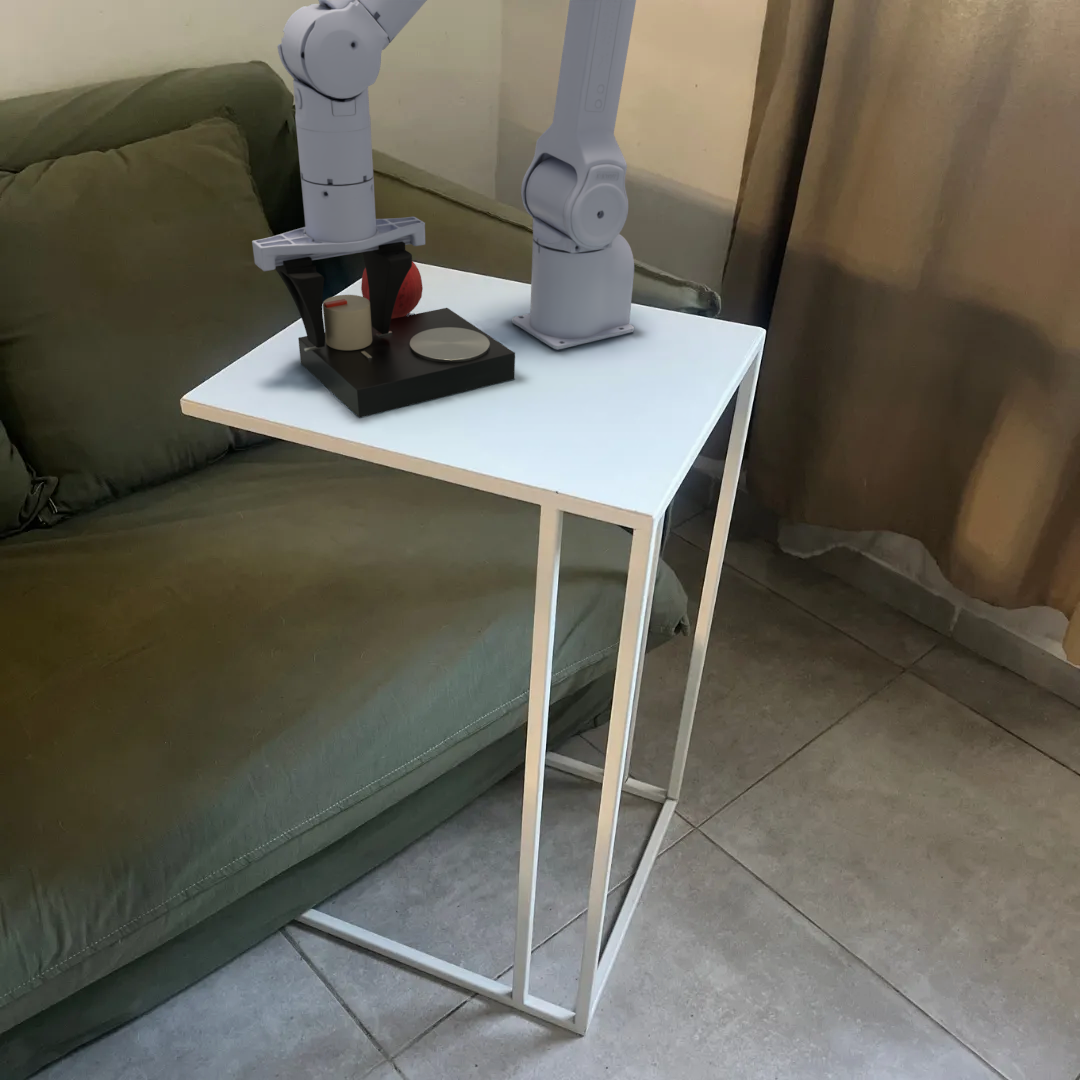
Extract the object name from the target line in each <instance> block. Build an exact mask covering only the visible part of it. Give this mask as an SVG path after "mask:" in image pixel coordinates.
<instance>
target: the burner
mask: <svg viewBox="0 0 1080 1080" xmlns="http://www.w3.org/2000/svg"><path fill="white" fill-rule="evenodd" d="M410 349H411V351H412V352H413V353H414V354H415V355H417V356H419V357H421V358H424V359H427V360H431V361H436V362H446V363H455V362H465V361H470V360H474V359H477V358H479V357H481V356H483V355H485V354H486V353H487V352H488V351H489V349H490V342H489V340H488V338H487V337H485V336H484V335H482V334H481V333H478V332H476V331H473V330H469V329H463V328H453V327H445V328H435V329H430V330H426V331H423V332H420V333H418V334H416V335H415V336H413V337H412V338H411V340H410Z"/></svg>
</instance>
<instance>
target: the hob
mask: <svg viewBox="0 0 1080 1080" xmlns="http://www.w3.org/2000/svg"><path fill="white" fill-rule="evenodd" d="M371 326H372V324H371ZM445 327H453V328H463V329H469V330H473V331H476V332H478V333H481V334H482V335H484V336H485V337H487V338H488V340H489V342H490V349H489V351H488V352H487V353H486V354H485V355H483V356H481V357H479V358H477V359H474V360H470V361H465V362H455V363H446V362H436V361H431V360H427V359H424V358H421V357H419V356H417V355H415V354H414V353H413V352H412V351H411V349H410V340H411V338H412V337H413V336H415V335H416V334H418V333H420V332H423V331H426V330H430V329H435V328H445ZM297 338H298V348H299V357H300V365H301V366H303V367H304V368H305V369H306V370H307V371H308V372H309V373H310V374H311V375H312V376H313V377H315V378H316V379H317V380H318V381H319V382H320V383H321V384H322V385H323V386H324V387H326V389H327V390H329V392H331V393H332V394H333V395H334V396H335V397H336V398H337V399H338V400H339V401H340V402H341V403H342V404H344V405H345V406H346V407H347V408H348V409H349V410H350V411H351V412H352V413H353V414H355V415H356V416H357V417H358V418H364V417H368V416H373V415H376V414H379V413H385V412H389V411H393V410H396V409H400V408H404V407H409V406H412V405H417V404H421V403H423V402H429V401H431V400H436V399H440V398H444V397H448V396H452V395H455V394H456V395H457V394H460V393H465V392H468V391H473V390H476V389H480V388H484V387H488V386H491V385H495V384H500V383H504V382H509V381H512V380H515V375H516V374H515V373H516V372H515V371H516V370H515V369H516V352H515V351H512V350H511V349H510V348H508V347H507V346H505V345H504V344H502V343H501V342H499V341H498V340H497V339H495V338H493V337H492V336H491V335H489V334H487V333H486V332H485V331H483V330H482V329H480V328H478V327H477V326H476V325H474V324H472V323H471V322H469V321H468V320H467V319H465V318H464V317H462V316H460V315H459V314H458V313H456V312H454V311H453V310H451V309H450V308H448V307H443V308H439V309H433V310H427V311H424V312H419V313H413V314H408V315H406V316H403V317H398V318H393V319H391V322H390V328H389V333H386V334H381V333H380V332H378V331H377V330H376V329H374V328H373V327H372V343H371V344H370V345H369V346H367V347H365V348H362V349H358V350H338V349H334V348H331V347H329V346H328V345H327V343H326V337H325V346H324V347H319V348H317V347H315V346H314V345H313V344H312V343H311V342H310V341H308V338H307V335H305V336H300V337H297Z"/></svg>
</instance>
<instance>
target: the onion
mask: <svg viewBox="0 0 1080 1080" xmlns="http://www.w3.org/2000/svg"><path fill="white" fill-rule="evenodd" d="M423 288H424V287H423V281H422V275H421V273H420V270H419V268H418V266H417V264H415V262H414V261H413V260H412V267H411V268H410V270H409V272H408V273H407V275H406V277H405V279H404V281H403V283H402V285H401V287H400V290H399V292H398V295H397V298H396V301H395V305H394V309H393V313H392V317H391V319H393V318H398V317H403V316H408V315H410V313H412V312H413V310H414V309H415V308H416V307H417V306H418V305H419V303H420V301H421V299H422V297H423ZM360 290H361V295H362V297H364V298H366V299H368V300H369V286H368V279H367V273H366V267H364V269H363V272H362V276H361V288H360Z"/></svg>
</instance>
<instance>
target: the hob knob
mask: <svg viewBox="0 0 1080 1080" xmlns="http://www.w3.org/2000/svg"><path fill="white" fill-rule="evenodd" d="M322 313H323V322H324V331H325V337H326V343H327V345H328V346H329V347H331V348H334V349H338V350H358V349H362V348H365V347H367V346H369V345H370V344H371V343H372V326H371V309H370V301H369V300H368V299H366V298H364V297H363V295H362V296H361V295H357V294H340V295H334V296H330V297H327V298H326V299H324V301H322Z"/></svg>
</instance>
